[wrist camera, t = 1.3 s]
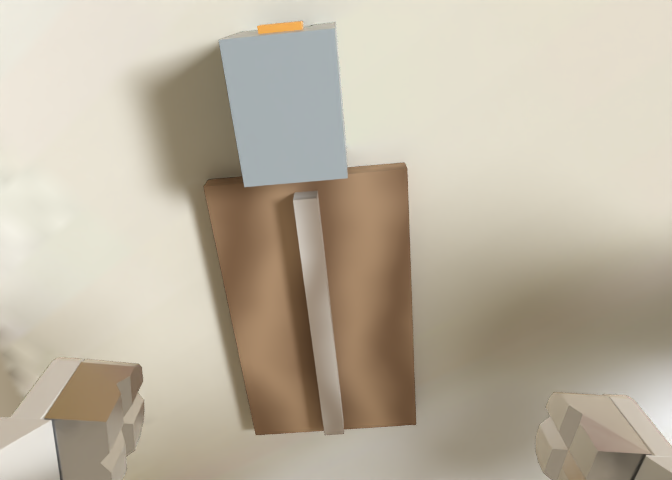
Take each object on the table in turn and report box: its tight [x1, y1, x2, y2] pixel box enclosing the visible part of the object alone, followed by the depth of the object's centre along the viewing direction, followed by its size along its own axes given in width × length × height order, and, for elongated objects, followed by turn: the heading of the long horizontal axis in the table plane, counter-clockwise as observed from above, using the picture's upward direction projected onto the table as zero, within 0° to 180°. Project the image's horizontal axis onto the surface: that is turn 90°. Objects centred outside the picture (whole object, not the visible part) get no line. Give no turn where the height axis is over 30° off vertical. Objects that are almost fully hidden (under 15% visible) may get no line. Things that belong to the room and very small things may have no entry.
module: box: [219, 21, 348, 187], centre depth 31 cm, size 6×8×7 cm
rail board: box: [203, 163, 416, 435], centre depth 40 cm, size 14×23×3 cm, turn 5°
